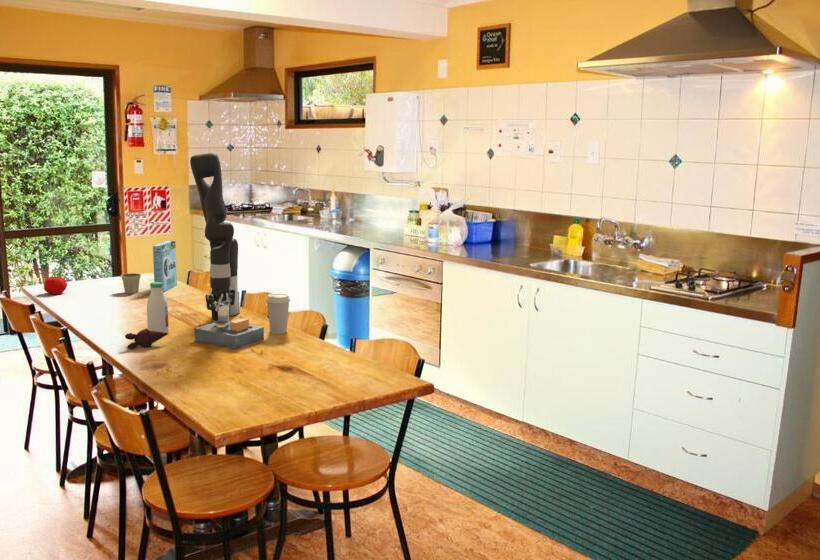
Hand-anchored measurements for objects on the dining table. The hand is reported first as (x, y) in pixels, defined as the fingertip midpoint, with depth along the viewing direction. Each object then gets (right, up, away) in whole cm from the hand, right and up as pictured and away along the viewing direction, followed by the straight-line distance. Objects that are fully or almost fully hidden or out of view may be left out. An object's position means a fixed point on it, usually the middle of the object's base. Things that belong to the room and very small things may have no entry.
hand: (221, 318), depth 284 cm
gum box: (-51, +10, +91) cm, 105 cm away
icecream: (-24, -10, -11) cm, 28 cm away
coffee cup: (+19, -6, +14) cm, 25 cm away
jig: (+3, -8, 0) cm, 9 cm away
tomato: (-97, +8, +73) cm, 121 cm away
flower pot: (-64, +8, +80) cm, 102 cm away
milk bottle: (-26, -6, +8) cm, 28 cm away
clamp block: (+8, -4, -4) cm, 9 cm away
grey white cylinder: (0, -6, +1) cm, 6 cm away
